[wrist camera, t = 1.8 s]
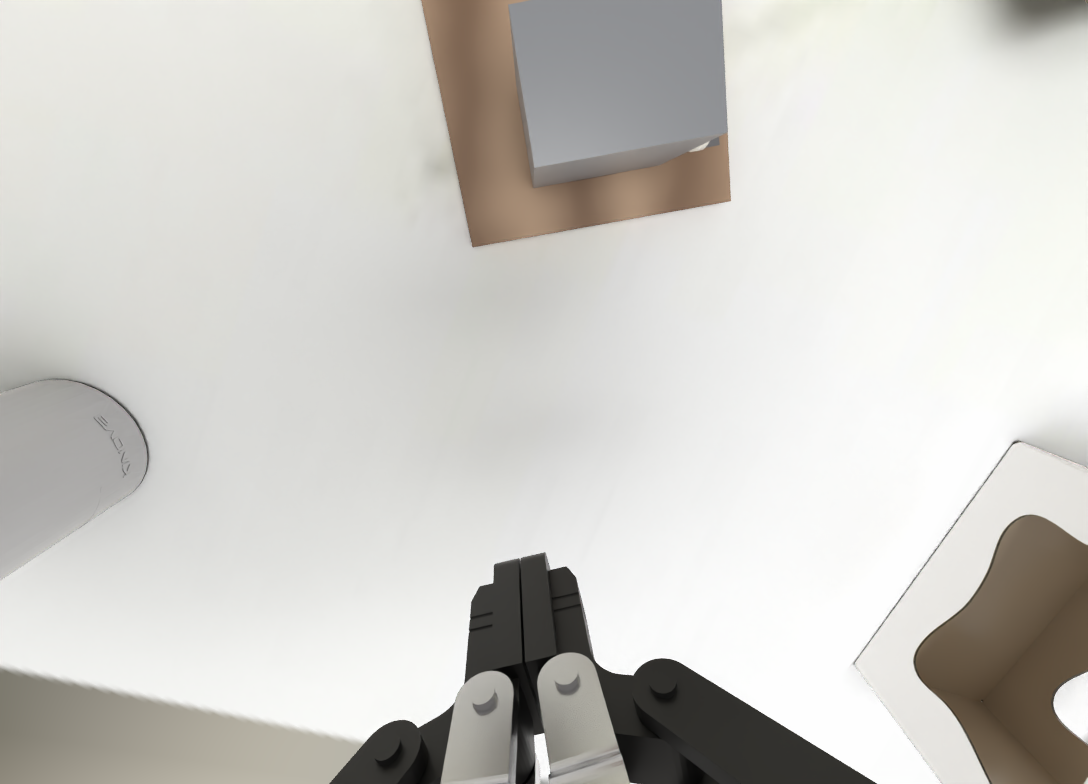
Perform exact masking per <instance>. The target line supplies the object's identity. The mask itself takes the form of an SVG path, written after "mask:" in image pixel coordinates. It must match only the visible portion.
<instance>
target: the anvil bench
mask: <svg viewBox="0 0 1088 784" xmlns="http://www.w3.org/2000/svg"><path fill="white" fill-rule="evenodd" d="M421 1H422V6H423V11H424V15H425V20H426V25H427V30H428V35H429V39H430V44H431V49H432V54H433V59H434V64H435V68H436V73H437V78H438V83H439V88H440V93H441V97H442V102H443V107H444V112H445V117H446V121H447V126H448V131H449V136H450V141H451V146H452V150H453V155H454V160H455V165H456V170H457V175H458V179H459V184H460V189H461V194H462V199H463V203H464V208H465V213H466V218H467V223H468V228H469V232H470V237H471V242H472V247H477V246H482V245H488V244H493V243H499V242H505V241H510V240H516V239H521V238H527V237H533V236H538V235H544V234H549V233H555V232H561V231H566V230H572V229H577V228H583V227H588V226H594V225H600V224H605V223H611V222H616V221H622V220H628V219H633V218H639V217H644V216H650V215H655V214H661V213H667V212H672V211H678V210H683V209H689V208H695V207H700V206H706V205H711V204H717V203H723V202H728V201H731V196H730V176H729V155H728V134H727V133H725V134H723V135H721V136H719V137H717V138H715V139H713V140H711V141H710V142H709V144H708V145H707V146H706V148H704V149H703V150H700V151H694V152H686V153H684V154H682V155H680V156H678V157H676V158H673V159H671V160H669V161H667V162H665V163H663V164H661V165H659V166H653V167H648V168H642V169H637V170H631V171H626V172H620V173H615V174H609V175H604V176H598V177H593V178H587V179H582V180H576V181H571V182H565V183H560V184H554V185H549V186H543V187H538V188H533V184H532V178H531V172H530V166H529V160H528V154H527V148H526V142H525V136H524V130H523V124H522V118H521V111H520V105H519V99H518V93H517V87H516V78H515V68H514V58H513V48H512V38H511V28H510V18H509V8H508V4H513V3H519V2H524V1H529V0H421Z"/></svg>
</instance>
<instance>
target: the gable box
mask: <svg viewBox="0 0 1088 784" xmlns="http://www.w3.org/2000/svg"><path fill="white" fill-rule="evenodd" d="M855 667H856V668H857V670H858V671H859V672H860V674H861V675H862V676H863V678H864V679H865V680H866V682H867V683H868V685H869V686H870V687H871V689H872V690H873V691H874V693H875V694H876V695H877V697H878V698H879V699H880V701H881V702H882V703H883V705H884V706H885V708H886V709H887V710H888V712H889V713H890V714H891V716H892V717H893V718H894V720H895V721H896V722H897V724H898V725H899V726H900V728H901V729H902V731H903V732H904V733H905V735H906V736H907V737H908V739H909V740H910V741H911V743H912V744H913V745H914V747H915V748H916V749H917V751H918V752H919V754H920V755H921V756H922V758H923V759H924V760H925V762H926V763H927V764H928V766H929V767H930V768H931V770H932V771H933V772H934V774H935V775H936V777H937V778H938V779H939V781H940V782H941V783H942V784H1088V744H1087V743H1085V742H1084V741H1083V740H1081V739H1080V738H1079V737H1078V736H1076V735H1075V734H1074V733H1073V732H1072V731H1070V730H1069V729H1068V728H1067V727H1066V726H1065V725H1064V724H1063V723H1062V722H1061V721H1060V719H1059V718H1058V716H1057V715H1056V713H1055V710H1054V707H1053V700H1054V696H1055V694H1056V692H1057V690H1058V689H1059V688H1060V687H1061V686H1062V685H1063V684H1064V683H1066V682H1067V681H1069V680H1071V679H1073V678H1075V677H1077V676H1079V675H1081V674H1084V673H1086V672H1088V468H1087V467H1085V466H1082V465H1079V464H1077V463H1074V462H1072V461H1069V460H1067V459H1064V458H1062V457H1059V456H1057V455H1054V454H1051V453H1049V452H1046V451H1044V450H1041V449H1039V448H1036V447H1034V446H1031V445H1029V444H1026V443H1023V442H1021V441H1020V442H1017V443H1016V444H1013V445H1012V446H1011V448H1010V449H1009V451H1008V452H1007V453H1006V455H1005V456H1004V457H1003V459H1002V460H1001V462H1000V463H999V464H998V466H997V467H996V468H995V470H994V471H993V473H992V474H991V475H990V477H989V478H988V480H987V481H986V482H985V484H984V485H983V486H982V488H981V489H980V491H979V492H978V493H977V495H976V496H975V497H974V499H973V500H972V502H971V503H970V504H969V506H968V507H967V509H966V510H965V511H964V513H963V514H962V515H961V517H960V518H959V520H958V521H957V522H956V524H955V525H954V527H953V528H952V529H951V531H950V532H949V533H948V535H947V536H946V538H945V539H944V540H943V542H942V543H941V544H940V546H939V547H938V549H937V550H936V551H935V553H934V554H933V556H932V557H931V558H930V560H929V561H928V562H927V564H926V565H925V567H924V568H923V569H922V571H921V572H920V574H919V575H918V576H917V578H916V579H915V580H914V582H913V583H912V585H911V586H910V587H909V589H908V590H907V591H906V593H905V594H904V596H903V597H902V598H901V600H900V601H899V603H898V604H897V605H896V607H895V608H894V609H893V611H892V612H891V614H890V615H889V616H888V618H887V619H886V620H885V622H884V623H883V625H882V626H881V627H880V629H879V630H878V632H877V633H876V634H875V636H874V637H873V638H872V640H871V641H870V643H869V644H868V645H867V647H866V648H865V650H864V651H863V652H862V654H861V655H860V656H859V658H858V659H857V661H856V662H855ZM981 701H982V702H981Z"/></svg>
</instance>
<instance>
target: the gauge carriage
mask: <svg viewBox="0 0 1088 784" xmlns="http://www.w3.org/2000/svg"><path fill="white" fill-rule="evenodd" d="M508 8H509V18H510V28H511V38H512V48H513V58H514V68H515V78H516V87H517V93H518V99H519V105H520V111H521V118H522V124H523V130H524V136H525V142H526V148H527V154H528V160H529V166H530V172H531V178H532V184H533V188H538V187H543V186H549V185H554V184H560V183H565V182H571V181H576V180H582V179H587V178H593V177H598V176H604V175H609V174H615V173H620V172H626V171H631V170H637V169H642V168H648V167H653V166H659V165H661V164H663V163H665V162H667V161H669V160H671V159H673V158H676V157H678V156H680V155H682V154H684V153H686V152H694V151H700V150H703V149H704V148H706V146H707V145H708V144H709V142H710V141H711V140H713V139H715V138H717V137H719V136H721V135H723V134H725V133H727V132H728V128H727V107H726V86H725V65H724V44H723V23H722V2H721V0H529V1H524V2H519V3H513V4H508Z"/></svg>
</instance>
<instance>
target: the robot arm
mask: <svg viewBox="0 0 1088 784" xmlns="http://www.w3.org/2000/svg"><path fill="white" fill-rule="evenodd" d="M147 460H148V459H147V450H146V445H145V442H144V439H143V436H142V433H141V432H140V430H139V428H138V427H137V425H136V423H135V421H134V420H133V419H132V418H131V416H130V415H129V414H128V413H127V412H126V411H125V409H124V408H122V407H121V406H120V405H119V404H118V403H116V402H115V401H114V400H113V399H112V398H110V397H109V396H107V395H105V394H104V393H102V392H100V391H99V390H97V389H95V388H92V387H89V386H87V385H84V384H82V383H78V382H73V381H68V380H54V379H48V380H43V381H38V382H33V383H30V384H27V385H24V386H21V387H17V388H14V389H11V390H8V391H5V392H1V393H0V580H2V579H3V578H5V577H6V576H8V575H9V574H11V573H12V572H14V571H15V570H17V569H18V568H20V567H21V566H23V565H24V564H26V563H27V562H29V561H30V560H32V559H33V558H35V557H36V556H38V555H39V554H41V553H42V552H44V551H45V550H47V549H48V548H50V547H51V546H53V545H54V544H56V543H57V542H59V541H60V540H62V539H63V538H65V537H66V536H68V535H69V534H71V533H72V532H74V531H75V530H77V529H79V528H80V527H82V526H83V525H85V524H86V523H88V522H89V521H91V520H92V519H94V518H95V517H97V516H98V515H100V514H101V513H103V512H104V511H106V510H107V509H109V508H110V507H112V506H113V505H115V504H116V503H117V502H119V501H120V500H122V499H123V498H125V497H126V496H128V495H129V494H131V493H132V492H133V491H134V490H135V489H136V488H137V487H138V486H139V484H140V483H141V481H142V479H143V477H144V475H145V472H146V467H147ZM470 618H471V620H470V626H469V631H470V633H469V638H468V650H467V661H466V673H465V682H464V685H463V686H462V688H461V689H460V691H459V692H458V694H457V697H456V700H455V703H454V704H453V705H452V706H451V707H450V708H449V709H448V710H447V711H446V712H444V713H443V714H442V715H440V716H438V717H437V718H435V719H433V720H431V721H430V722H428V723H426V724H424V725H422V726H421V727H419V728H417V726H416V725H415V724H413V723H412V722H410V721H406V720H398V721H393V722H390V723H388V724H386V725H384V726H383V727H381V728H379V729H378V730H377V731H376V732H375V733H373V734H372V736H371V737H370V738H369V739H368V740H367V741H366V742H365V743H364V744H363V746H362V747H361V748H360V749H359V750H358V751H357V753H356V754H355V755H354V756H353V757H352V758H351V760H350V761H349V762H348V763H347V764H346V765H345V766H344V767H343V769H342V770H341V771H340V772H339V773H338V775H337V776H336V777H335V778H334V779H333V780H332V782H331V783H330V784H540V765H539V762H538V759H537V756H536V753H535V746H534V735H537V734H541V733H545V739H546V746H547V752H548V758H549V765H550V774H549V784H630V783H637V784H877V783H875V782H873V781H872V780H870V779H868V778H867V777H865V776H864V775H862V774H860V773H859V772H857V771H855V770H854V769H852V768H851V767H849V766H847V765H846V764H844V763H842V762H841V761H839V760H837V759H836V758H834V757H833V756H831V755H829V754H828V753H826V752H824V751H823V750H821V749H820V748H818V747H816V746H815V745H813V744H811V743H810V742H808V741H807V740H805V739H803V738H802V737H800V736H798V735H797V734H795V733H794V732H792V731H790V730H789V729H787V728H785V727H784V726H782V725H781V724H779V723H777V722H776V721H774V720H772V719H771V718H769V717H767V716H766V715H764V714H763V713H761V712H759V711H758V710H756V709H754V708H753V707H751V706H750V705H748V704H746V703H745V702H743V701H741V700H740V699H738V698H737V697H735V696H733V695H732V694H730V693H728V692H727V691H725V690H724V689H722V688H720V687H719V686H717V685H715V684H714V683H712V682H710V681H709V680H707V679H706V678H704V677H702V676H701V675H699V674H697V673H696V672H694V671H693V670H691V669H689V668H688V667H686V666H684V665H683V664H681V663H679V662H677V661H674V660H671V659H662V658H661V659H654V660H651V661H648V662H646V663H645V664H643V665H642V666H641V667H640V668H638V670H637V671H636V672H635V674H634V676H632V675H621V674H615V673H611V672H609V671H607V670H605V669H603V668H602V667H600V666H599V665H598V664H597V663H596V661H595V660H594V655H593V650H592V645H591V640H590V635H589V630H588V625H587V620H586V616H585V612H584V608H583V604H582V600H581V596H580V592H579V588H578V584H577V580H576V577H575V576H574V575H573V573H572V572H571V571H570V570H569V569H568V568H567V567H562V568H557V569H553V570H550V567H549V563H548V559H547V556H546V553H545V552H544V553H540V554H536V555H532V556H527V557H523V558H521V561H520V559H519V558H518V559H514V560H510V561H506V562H501V563H497V564H495V565H494V583H493V584H489V585H484V586H480V587H479V589H478V591H477V593H476V594H475V596H474V598H473V600H472V602H471V614H470Z"/></svg>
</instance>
